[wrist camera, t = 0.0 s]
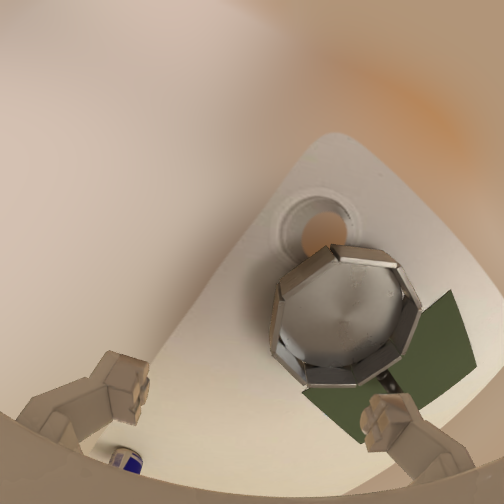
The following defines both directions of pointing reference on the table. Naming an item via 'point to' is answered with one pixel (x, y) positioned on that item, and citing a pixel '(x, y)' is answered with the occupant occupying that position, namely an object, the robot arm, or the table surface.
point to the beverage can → (126, 460)
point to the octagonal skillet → (344, 318)
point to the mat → (409, 368)
